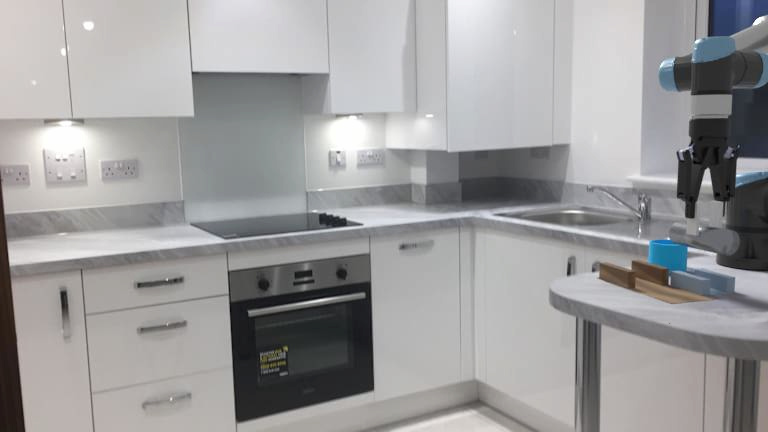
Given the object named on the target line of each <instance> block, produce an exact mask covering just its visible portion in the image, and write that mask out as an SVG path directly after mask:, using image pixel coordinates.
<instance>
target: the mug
mask: <svg viewBox="0 0 768 432" xmlns="http://www.w3.org/2000/svg"><path fill="white" fill-rule="evenodd" d="M688 249H689V247H686V246H681V245H677V244H674V243H672V241H671V240H670V239H664V238H663V239H652V240H649V242H648V261H647V262H648V263H652V264H655V265H659V266H662V267H666V268H669V276H671V271H682V272H686V273H688V272H687V271H688V270H687V269H688V267H687V266H688V253H689V252H688Z"/></svg>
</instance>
